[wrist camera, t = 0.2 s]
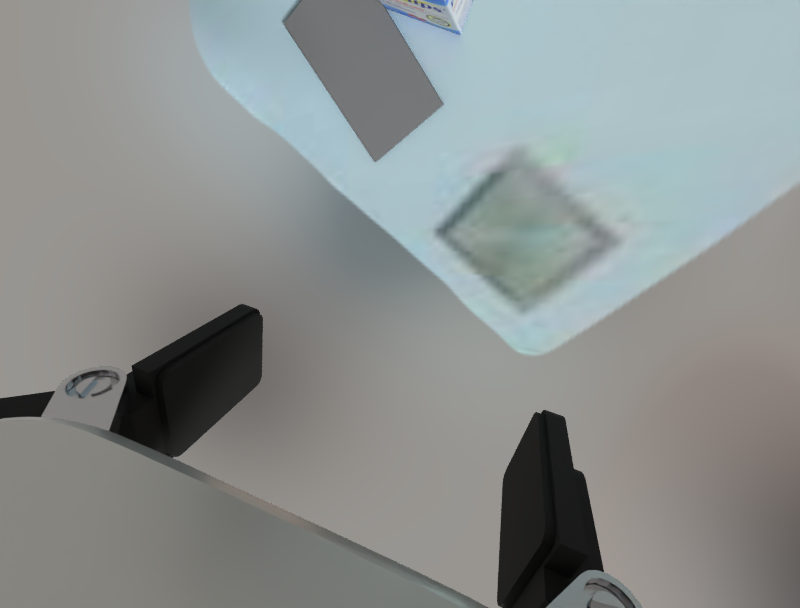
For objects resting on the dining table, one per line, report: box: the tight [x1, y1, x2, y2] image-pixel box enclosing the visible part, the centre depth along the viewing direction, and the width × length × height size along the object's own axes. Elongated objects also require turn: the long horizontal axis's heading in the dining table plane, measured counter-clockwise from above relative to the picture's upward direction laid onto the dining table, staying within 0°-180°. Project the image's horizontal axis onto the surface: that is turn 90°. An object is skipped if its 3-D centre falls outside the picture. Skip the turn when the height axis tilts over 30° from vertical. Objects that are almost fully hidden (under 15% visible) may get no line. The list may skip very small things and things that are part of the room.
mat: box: [284, 0, 444, 162], centre depth 35 cm, size 9×16×1 cm, turn 36°
